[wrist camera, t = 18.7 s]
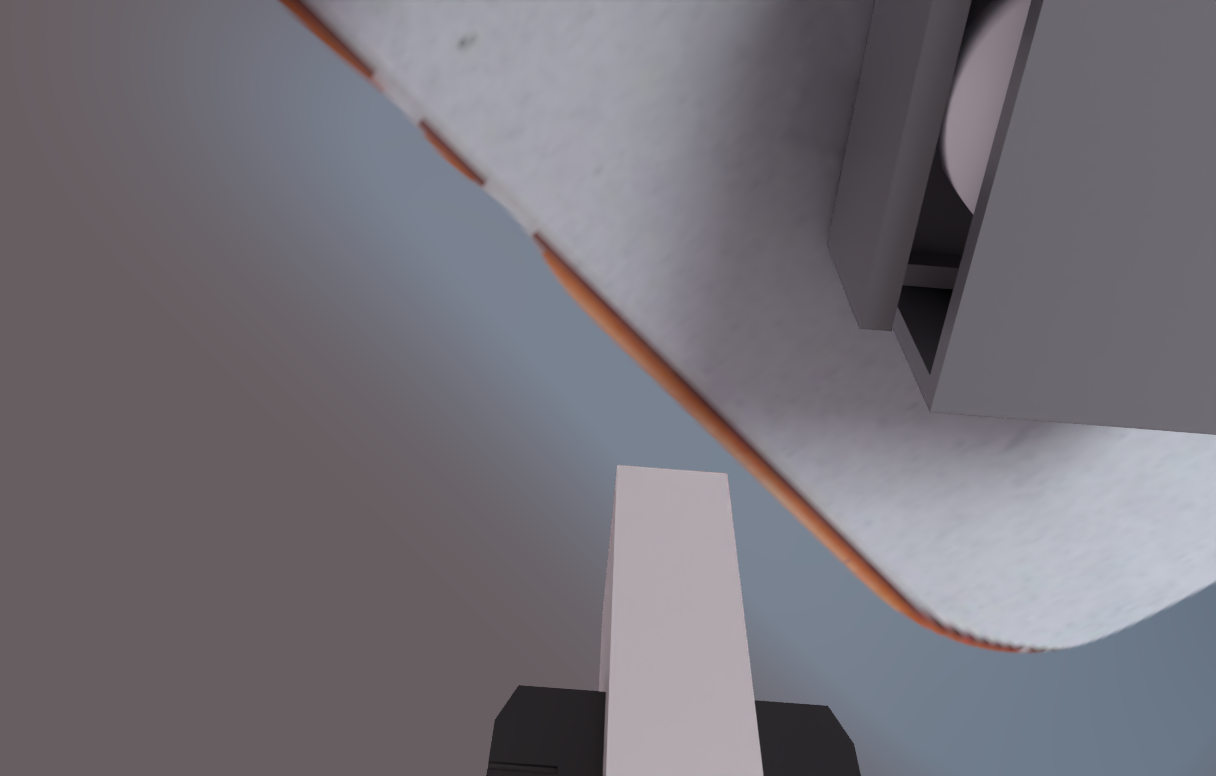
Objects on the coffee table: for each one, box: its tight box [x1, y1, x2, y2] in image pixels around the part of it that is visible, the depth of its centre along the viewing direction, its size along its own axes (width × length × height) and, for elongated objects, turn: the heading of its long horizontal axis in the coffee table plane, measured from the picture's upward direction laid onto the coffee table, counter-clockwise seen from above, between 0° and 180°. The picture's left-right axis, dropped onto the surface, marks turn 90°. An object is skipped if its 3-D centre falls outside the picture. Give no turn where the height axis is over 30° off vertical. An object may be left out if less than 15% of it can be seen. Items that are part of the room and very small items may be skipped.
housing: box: [893, 0, 1216, 435], centre depth 31 cm, size 17×14×9 cm
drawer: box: [827, 0, 992, 331], centre depth 32 cm, size 15×14×7 cm
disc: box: [936, 0, 1031, 215], centre depth 29 cm, size 8×8×2 cm
